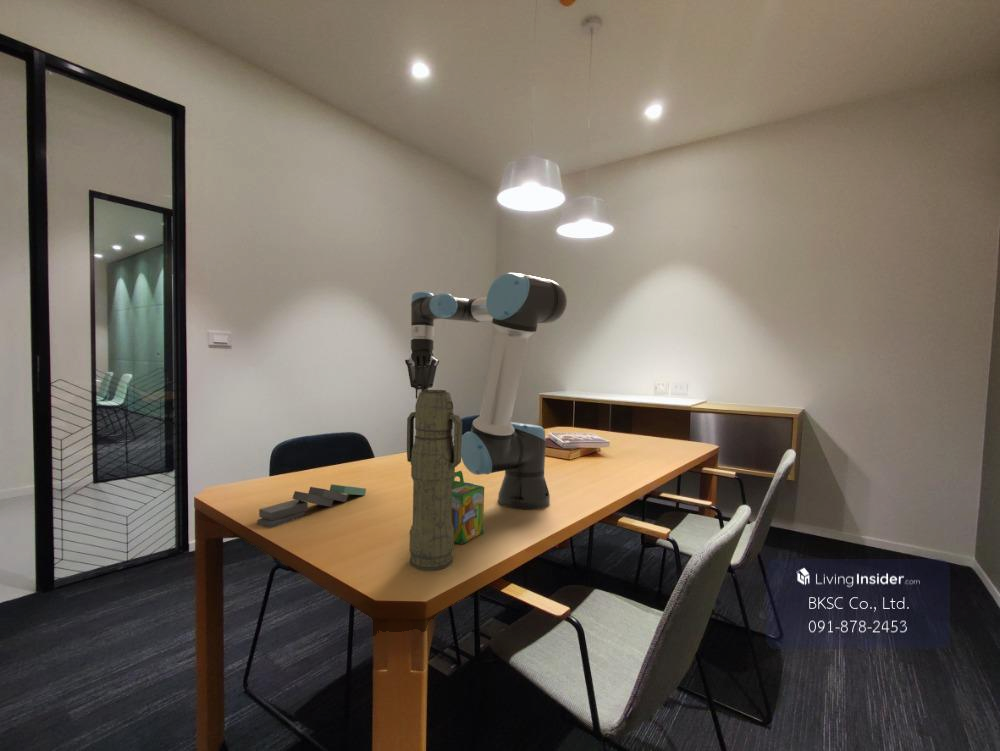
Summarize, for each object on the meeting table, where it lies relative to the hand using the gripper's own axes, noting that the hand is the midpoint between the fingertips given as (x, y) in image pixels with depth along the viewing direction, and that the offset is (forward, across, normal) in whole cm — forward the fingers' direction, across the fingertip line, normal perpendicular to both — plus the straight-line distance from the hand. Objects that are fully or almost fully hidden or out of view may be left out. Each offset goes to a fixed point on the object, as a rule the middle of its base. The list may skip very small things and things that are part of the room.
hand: (421, 408), depth 151 cm
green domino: (+24, -7, -20) cm, 32 cm away
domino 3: (+25, -7, -33) cm, 42 cm away
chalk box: (+27, +36, -31) cm, 55 cm away
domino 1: (+24, -7, -40) cm, 47 cm away
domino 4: (+25, -7, -28) cm, 38 cm away
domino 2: (+26, -7, -42) cm, 49 cm away
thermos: (+28, +40, -45) cm, 66 cm away
